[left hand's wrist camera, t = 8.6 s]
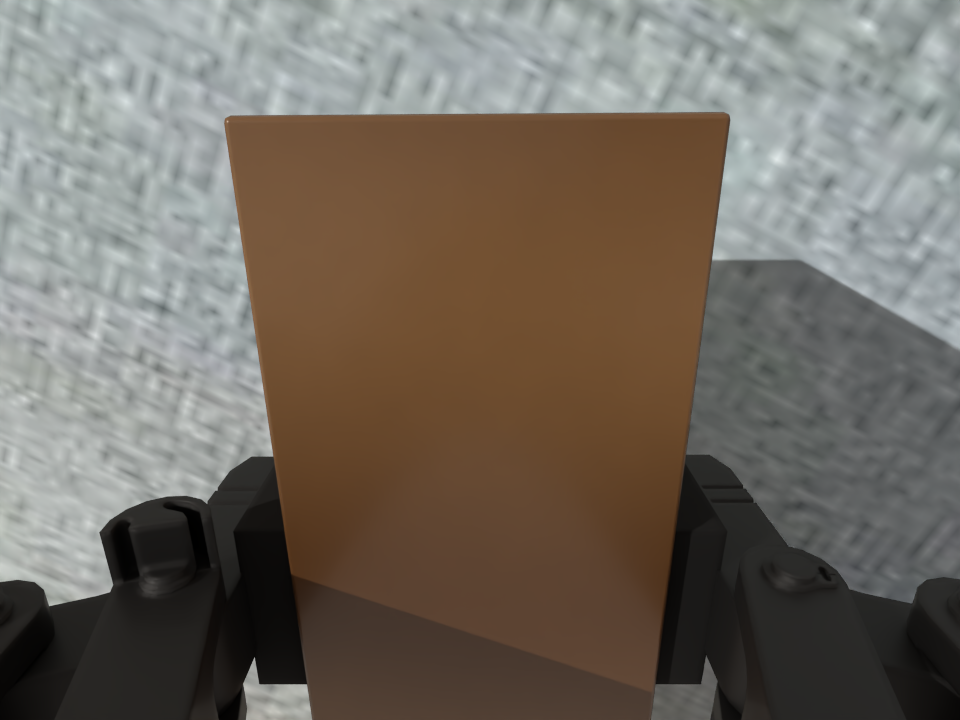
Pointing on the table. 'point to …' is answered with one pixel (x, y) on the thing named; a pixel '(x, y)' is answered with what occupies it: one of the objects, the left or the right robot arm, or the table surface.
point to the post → (479, 396)
